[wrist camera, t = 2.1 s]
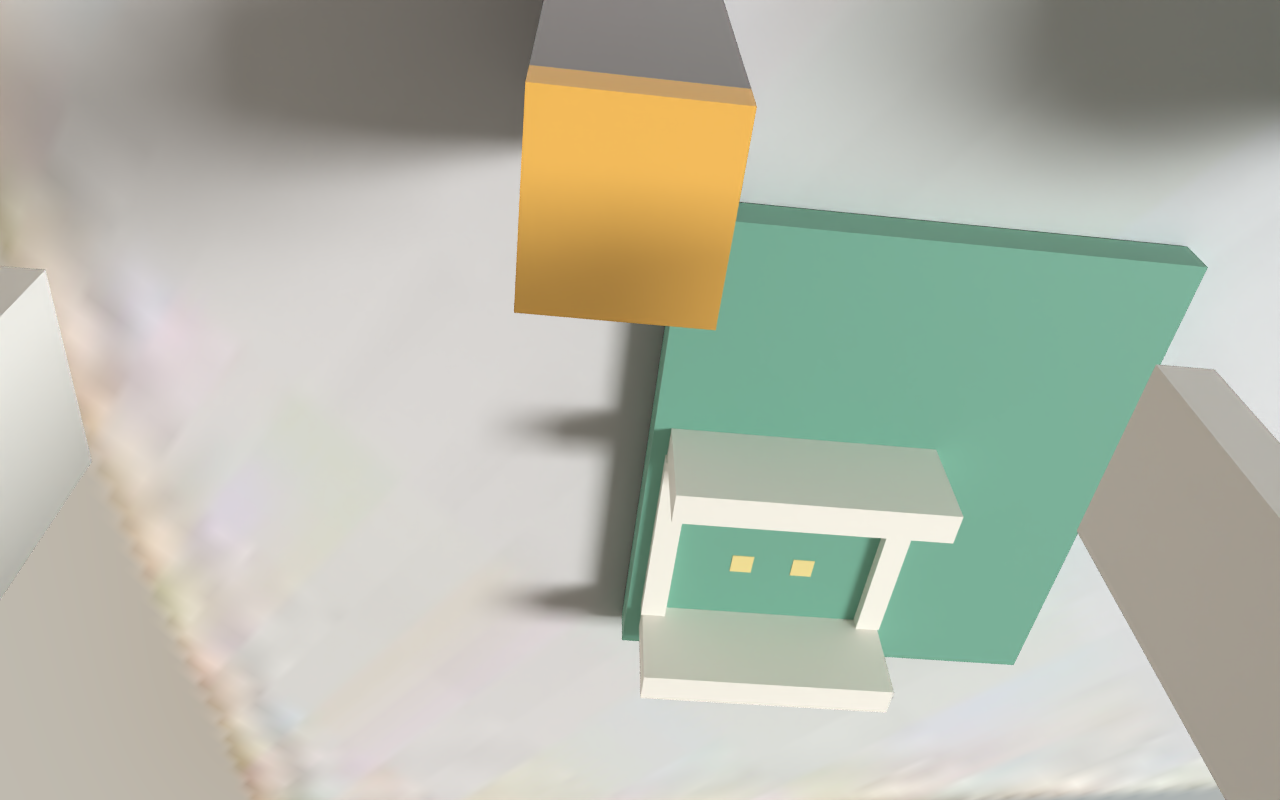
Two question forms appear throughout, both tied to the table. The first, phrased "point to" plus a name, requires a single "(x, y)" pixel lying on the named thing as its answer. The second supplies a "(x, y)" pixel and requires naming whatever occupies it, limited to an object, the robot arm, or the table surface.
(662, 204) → the plug
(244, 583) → the table surface
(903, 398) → the board
